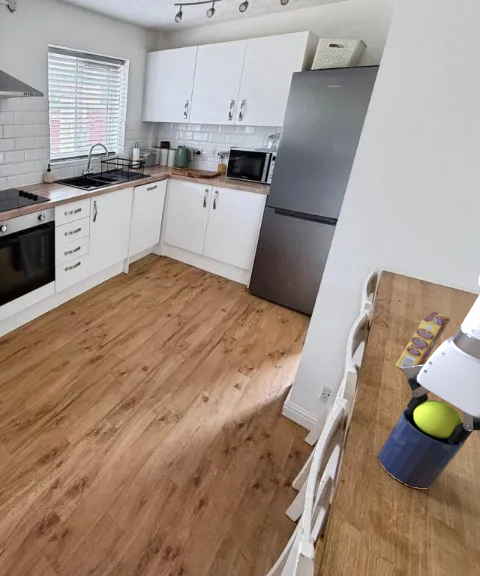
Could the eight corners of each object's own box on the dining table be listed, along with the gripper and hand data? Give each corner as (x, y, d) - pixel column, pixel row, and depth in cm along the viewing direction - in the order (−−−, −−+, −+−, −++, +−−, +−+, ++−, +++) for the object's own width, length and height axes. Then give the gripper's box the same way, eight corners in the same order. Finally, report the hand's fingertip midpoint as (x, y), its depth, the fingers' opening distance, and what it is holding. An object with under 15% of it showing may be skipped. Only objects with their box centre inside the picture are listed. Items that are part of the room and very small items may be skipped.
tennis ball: (459, 440, 66) (478, 414, 63) (438, 451, 63) (457, 424, 60) (420, 414, 71) (435, 389, 68) (399, 423, 68) (414, 397, 66)
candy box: (413, 375, 98) (441, 327, 90) (394, 366, 101) (420, 319, 94) (425, 363, 102) (452, 317, 95) (407, 355, 105) (432, 310, 98)
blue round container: (443, 480, 70) (476, 437, 64) (415, 497, 67) (447, 452, 61) (395, 444, 77) (421, 402, 71) (367, 457, 74) (392, 414, 68)
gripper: (575, 374, 52) (504, 459, 61) (437, 314, 66) (395, 389, 75) (550, 387, 50) (479, 473, 58) (412, 321, 64) (371, 398, 72)
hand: (432, 425), depth 66 cm, fingers closed on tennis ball, 5 cm apart
